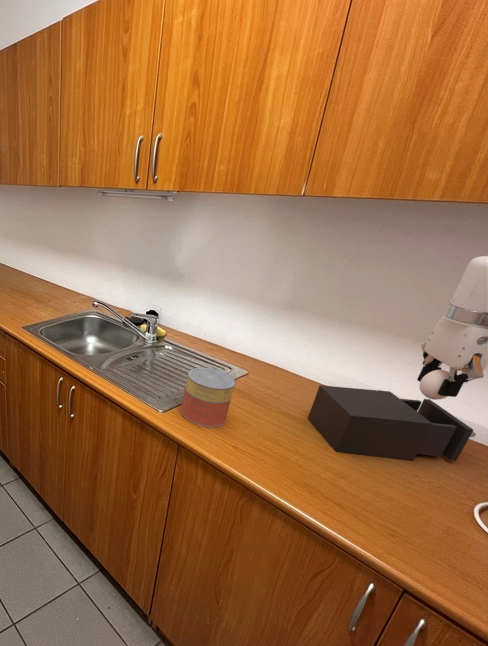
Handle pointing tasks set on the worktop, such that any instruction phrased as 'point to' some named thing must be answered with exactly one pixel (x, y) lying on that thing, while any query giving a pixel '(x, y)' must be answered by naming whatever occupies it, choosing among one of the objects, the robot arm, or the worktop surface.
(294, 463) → the worktop surface
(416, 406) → the black open angular box
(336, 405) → the dark brown box
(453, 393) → the robot arm
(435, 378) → the egg
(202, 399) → the canned food
